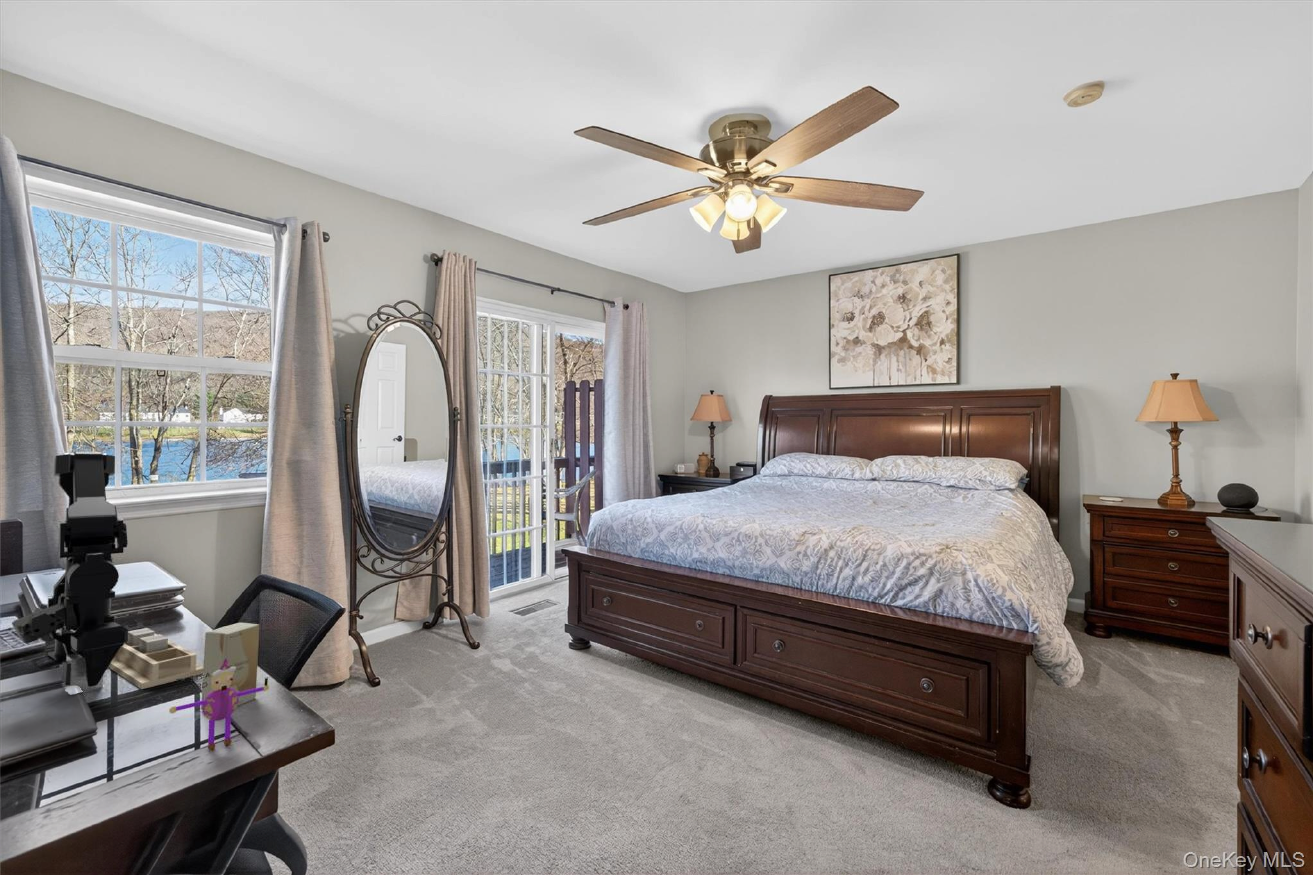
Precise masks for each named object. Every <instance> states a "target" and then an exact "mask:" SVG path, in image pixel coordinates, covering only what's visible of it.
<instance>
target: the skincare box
mask: <svg viewBox="0 0 1313 875" xmlns="http://www.w3.org/2000/svg"><path fill="white" fill-rule="evenodd" d="M204 634H205V635H204V648H203V649H204V650H203V654H204V655H203V665H202V666H203V674H202V681H201V684H202V683H203V687H205V686H206V683H207V686H206V687H205V688H202V687H201V700H200V701H203V700H204V699H205V698H206V696H207V695H208V694H209V693H210V692H211V691H213V689H212V687H211V680H212V678H213V677H212V674H213V673H214V672H216V671H217V670H219V669H220V668H221V666H222V664H223V662H224V660H225V658H226V660H227V662H228V663H229V665H230V667H236V670H235V671H234V674H233V677H232V678H233V680H232V681H231V684H230V686H229V687H231V688H233V689H234V690H235V691H236V692H237V693H238V692H242V691H247V690H251V689H255V688H257V682H258V680H257V679H258V659H259V658H258V657H259V642H260V641H259V640H260V638H259V637H260V624H259V623H258V624H257V623H249V622H237V623H233V624H229V625H226V626H222V627H219V628H216V629H211V630H210V631H209V630H208V631H206V632H205V633H204ZM207 673H209V675H210V677H209V676H208V675H207ZM206 675H207V677H206ZM205 677H206V678H205ZM204 682H206V683H204ZM255 697H256V698H257V692H255V693H251V694H247V695H243V696H239V697H238V698H239V700H238V705H237V707H238V706H240V705H241V706H242V705H243V704H245V703H248V702H250V701H252V700H255V699H256V698H255ZM200 710H201V711H202V705H200Z"/></svg>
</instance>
